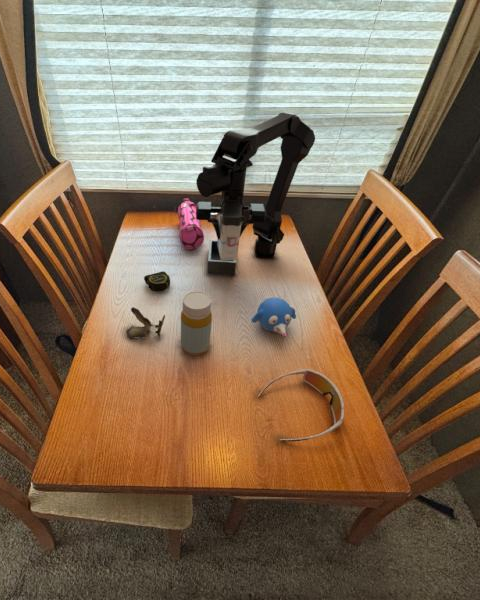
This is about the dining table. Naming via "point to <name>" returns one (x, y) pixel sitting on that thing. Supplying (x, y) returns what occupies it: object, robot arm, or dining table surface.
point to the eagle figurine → (148, 328)
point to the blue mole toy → (275, 315)
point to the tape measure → (158, 281)
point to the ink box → (228, 240)
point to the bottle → (196, 322)
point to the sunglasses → (324, 388)
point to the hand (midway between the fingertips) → (228, 238)
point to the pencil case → (189, 225)
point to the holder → (219, 262)
